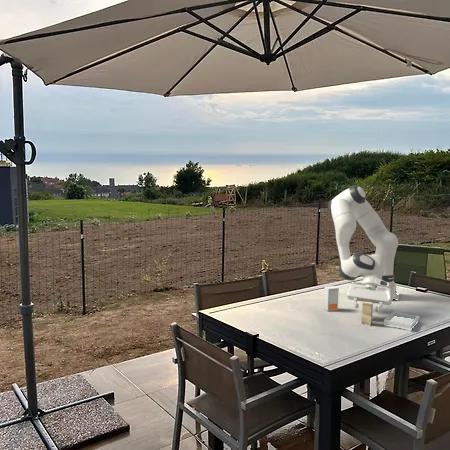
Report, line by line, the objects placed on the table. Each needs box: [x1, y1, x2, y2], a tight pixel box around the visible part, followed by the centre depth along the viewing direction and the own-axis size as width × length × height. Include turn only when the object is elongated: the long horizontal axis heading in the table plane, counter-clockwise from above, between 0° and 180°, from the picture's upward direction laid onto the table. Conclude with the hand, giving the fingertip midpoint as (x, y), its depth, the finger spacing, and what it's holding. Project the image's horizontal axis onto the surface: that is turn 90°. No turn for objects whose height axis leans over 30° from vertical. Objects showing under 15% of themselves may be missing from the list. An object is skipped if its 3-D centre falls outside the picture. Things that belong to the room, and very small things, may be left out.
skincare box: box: [323, 285, 339, 312], centre depth 217 cm, size 6×4×12 cm
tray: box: [383, 311, 420, 329], centre depth 196 cm, size 16×12×3 cm
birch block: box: [361, 301, 374, 326], centre depth 196 cm, size 4×4×10 cm
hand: (366, 309), depth 196 cm, fingers open, 8 cm apart
